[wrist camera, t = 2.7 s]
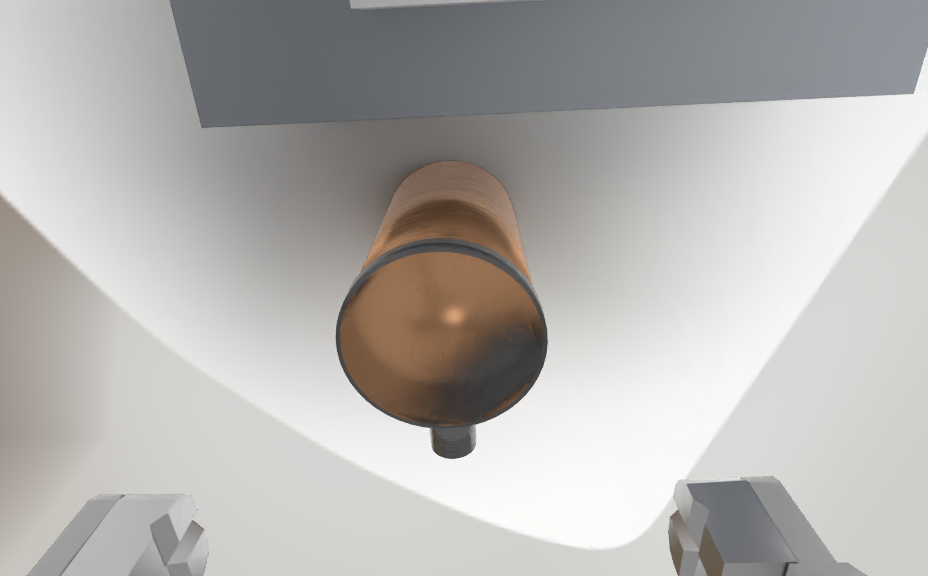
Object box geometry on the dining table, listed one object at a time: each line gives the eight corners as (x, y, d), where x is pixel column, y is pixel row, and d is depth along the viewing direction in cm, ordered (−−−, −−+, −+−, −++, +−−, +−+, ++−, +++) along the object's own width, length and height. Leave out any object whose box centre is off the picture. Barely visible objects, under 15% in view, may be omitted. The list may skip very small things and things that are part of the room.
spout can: (377, 161, 20) (319, 252, 12) (516, 154, 20) (550, 242, 12) (397, 329, 24) (361, 489, 16) (517, 324, 23) (544, 483, 15)
